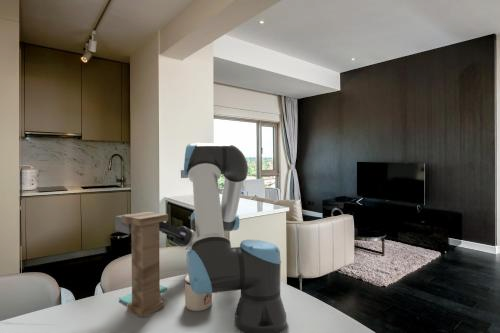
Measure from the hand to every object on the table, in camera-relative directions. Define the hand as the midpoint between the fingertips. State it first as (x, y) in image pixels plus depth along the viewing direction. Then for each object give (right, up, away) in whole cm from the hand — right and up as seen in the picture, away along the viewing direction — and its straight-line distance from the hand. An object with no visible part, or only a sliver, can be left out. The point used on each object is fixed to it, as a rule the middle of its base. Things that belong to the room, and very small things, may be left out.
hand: (142, 217), depth 106 cm
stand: (+5, -27, -11) cm, 30 cm away
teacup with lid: (+22, -28, -7) cm, 36 cm away
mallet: (0, -4, 0) cm, 4 cm away
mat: (+1, -27, -1) cm, 27 cm away
